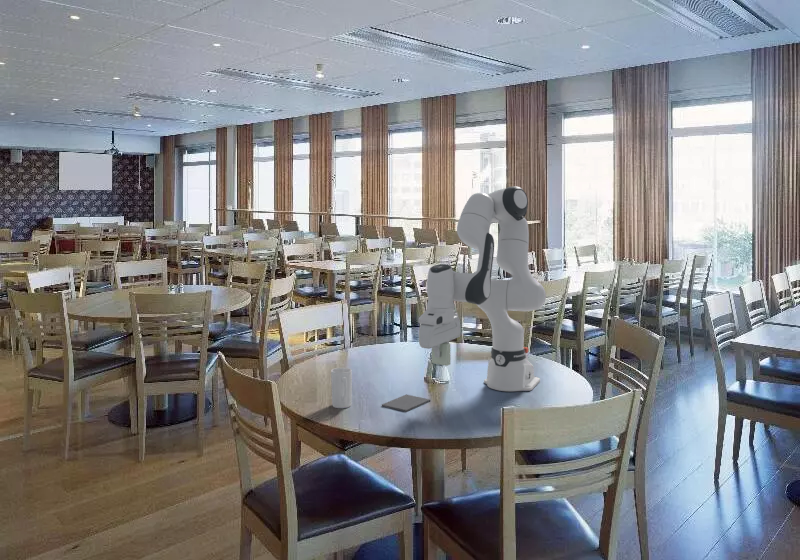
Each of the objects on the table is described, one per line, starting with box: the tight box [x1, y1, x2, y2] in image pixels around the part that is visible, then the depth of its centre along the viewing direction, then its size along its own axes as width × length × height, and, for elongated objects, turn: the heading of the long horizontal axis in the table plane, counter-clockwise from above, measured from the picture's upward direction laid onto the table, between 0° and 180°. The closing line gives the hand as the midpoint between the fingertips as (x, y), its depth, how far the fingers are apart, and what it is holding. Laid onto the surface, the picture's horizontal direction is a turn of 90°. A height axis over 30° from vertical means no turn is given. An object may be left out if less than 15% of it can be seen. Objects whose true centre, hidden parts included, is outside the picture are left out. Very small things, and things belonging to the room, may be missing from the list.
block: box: [431, 342, 451, 367], centre depth 227 cm, size 2×6×7 cm, turn 54°
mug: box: [330, 367, 353, 409], centre depth 227 cm, size 10×7×12 cm, turn 17°
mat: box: [381, 394, 431, 413], centre depth 231 cm, size 14×10×1 cm
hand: (440, 355), depth 227 cm, fingers closed on block, 2 cm apart
